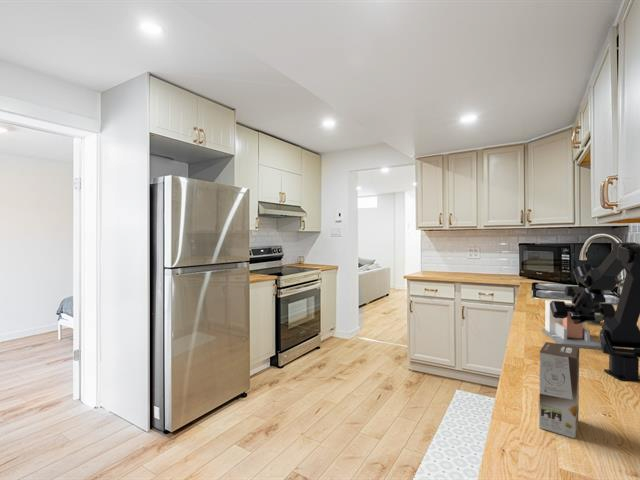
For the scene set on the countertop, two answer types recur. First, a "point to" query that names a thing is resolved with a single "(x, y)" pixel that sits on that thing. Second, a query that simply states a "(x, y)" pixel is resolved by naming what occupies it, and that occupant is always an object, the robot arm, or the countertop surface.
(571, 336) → the plug
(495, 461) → the countertop surface
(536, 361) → the countertop surface
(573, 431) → the coffee box
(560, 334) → the test rig
